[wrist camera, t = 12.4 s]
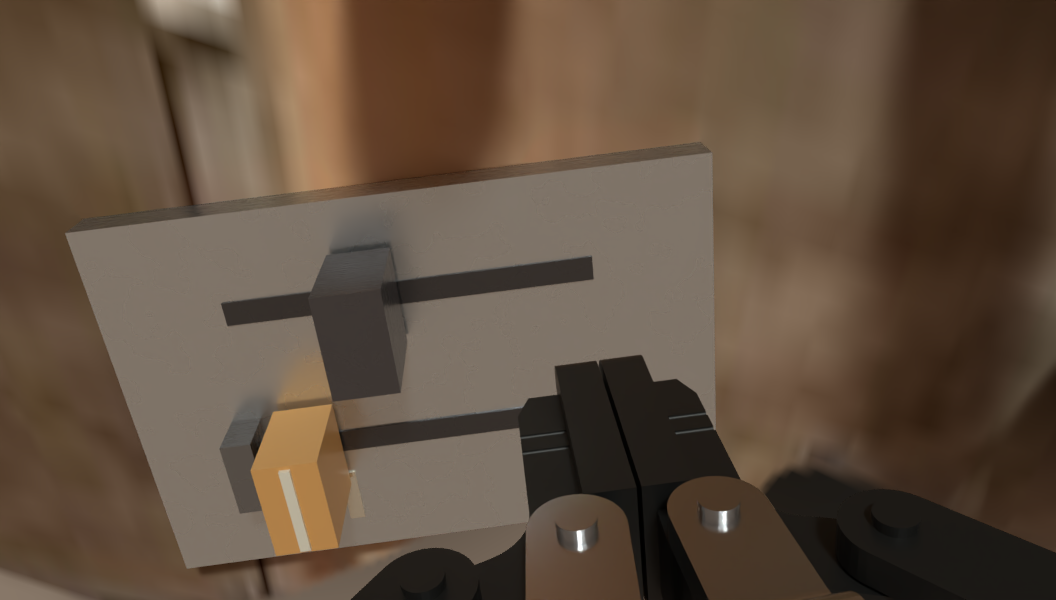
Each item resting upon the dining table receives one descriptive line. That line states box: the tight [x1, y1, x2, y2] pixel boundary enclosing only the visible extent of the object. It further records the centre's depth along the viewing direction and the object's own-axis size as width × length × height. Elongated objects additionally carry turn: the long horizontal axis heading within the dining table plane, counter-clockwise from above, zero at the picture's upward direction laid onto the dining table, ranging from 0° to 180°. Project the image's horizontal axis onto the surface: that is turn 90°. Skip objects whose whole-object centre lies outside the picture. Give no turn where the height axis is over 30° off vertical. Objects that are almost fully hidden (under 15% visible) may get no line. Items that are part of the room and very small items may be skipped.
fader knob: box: [251, 404, 351, 556], centre depth 40 cm, size 3×5×5 cm, turn 6°
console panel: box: [65, 142, 716, 569], centre depth 41 cm, size 30×20×7 cm, turn 96°
